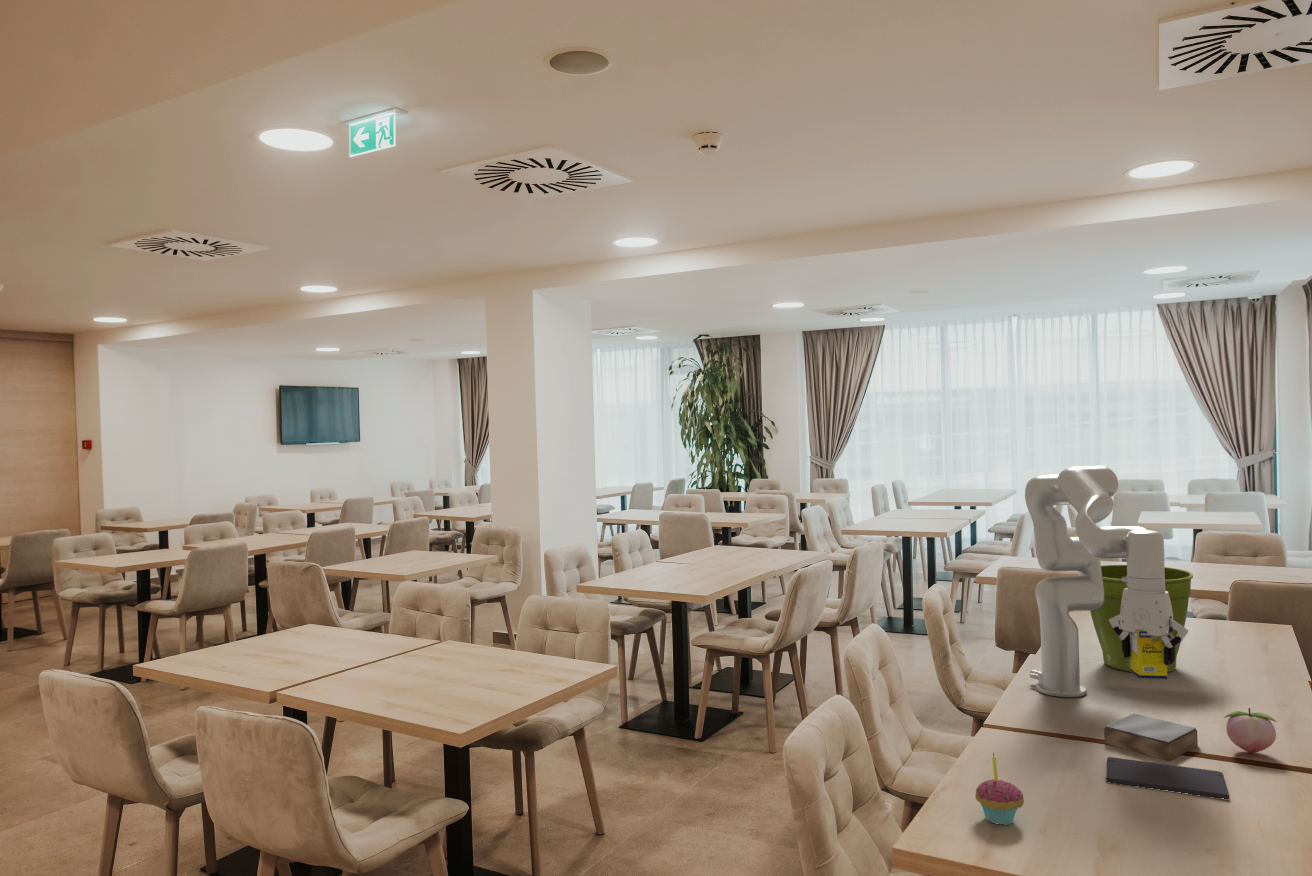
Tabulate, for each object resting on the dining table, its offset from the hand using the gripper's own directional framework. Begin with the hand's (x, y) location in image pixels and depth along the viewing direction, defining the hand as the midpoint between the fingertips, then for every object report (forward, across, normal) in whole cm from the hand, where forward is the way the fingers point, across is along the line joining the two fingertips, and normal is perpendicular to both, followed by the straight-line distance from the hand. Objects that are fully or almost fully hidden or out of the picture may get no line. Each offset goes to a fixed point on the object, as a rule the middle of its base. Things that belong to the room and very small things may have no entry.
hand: (1148, 659), depth 197 cm
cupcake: (+20, 0, -60) cm, 63 cm away
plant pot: (+20, -32, +63) cm, 73 cm away
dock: (+19, 0, 0) cm, 19 cm away
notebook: (+20, +11, -18) cm, 29 cm away
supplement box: (+4, 0, 0) cm, 4 cm away
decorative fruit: (+20, +16, +11) cm, 28 cm away
